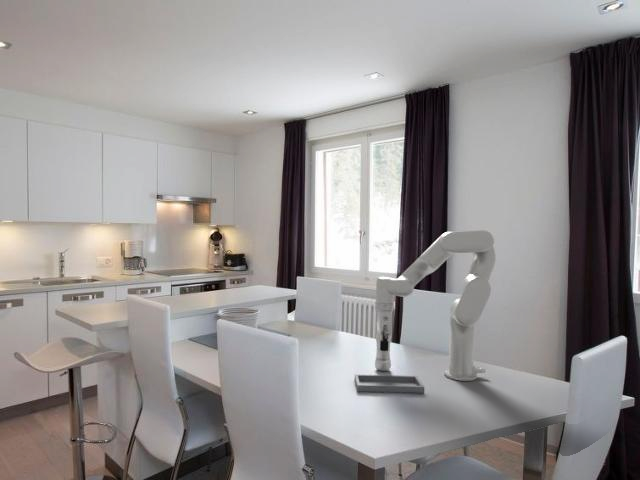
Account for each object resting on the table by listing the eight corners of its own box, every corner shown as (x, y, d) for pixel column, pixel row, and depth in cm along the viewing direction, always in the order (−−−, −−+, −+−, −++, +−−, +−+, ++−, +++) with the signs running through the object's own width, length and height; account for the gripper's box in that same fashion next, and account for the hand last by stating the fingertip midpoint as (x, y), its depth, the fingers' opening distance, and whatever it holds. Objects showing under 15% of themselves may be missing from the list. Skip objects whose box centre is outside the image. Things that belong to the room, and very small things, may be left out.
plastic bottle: (390, 373, 180) (392, 324, 179) (373, 372, 181) (375, 323, 181) (391, 368, 186) (392, 321, 186) (375, 367, 187) (376, 320, 187)
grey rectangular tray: (416, 382, 170) (416, 375, 170) (424, 394, 158) (424, 386, 158) (354, 381, 170) (354, 374, 169) (357, 392, 158) (357, 385, 157)
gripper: (397, 310, 175) (394, 353, 175) (389, 303, 192) (387, 342, 192) (378, 310, 174) (376, 352, 175) (372, 302, 192) (370, 341, 192)
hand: (382, 347), depth 184 cm, fingers open, 9 cm apart
